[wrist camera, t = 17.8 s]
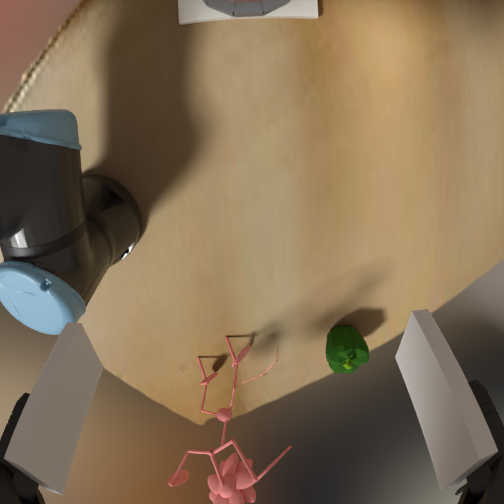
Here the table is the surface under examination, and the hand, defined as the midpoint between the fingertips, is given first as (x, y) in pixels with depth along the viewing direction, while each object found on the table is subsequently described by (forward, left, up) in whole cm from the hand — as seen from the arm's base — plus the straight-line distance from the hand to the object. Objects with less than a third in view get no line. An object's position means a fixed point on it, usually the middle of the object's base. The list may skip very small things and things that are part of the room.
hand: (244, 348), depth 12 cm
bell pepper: (+17, -38, -37) cm, 56 cm away
